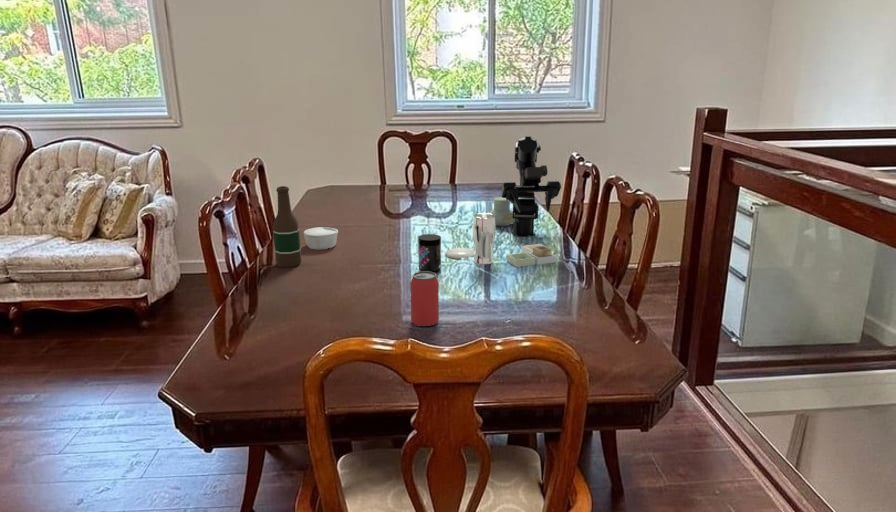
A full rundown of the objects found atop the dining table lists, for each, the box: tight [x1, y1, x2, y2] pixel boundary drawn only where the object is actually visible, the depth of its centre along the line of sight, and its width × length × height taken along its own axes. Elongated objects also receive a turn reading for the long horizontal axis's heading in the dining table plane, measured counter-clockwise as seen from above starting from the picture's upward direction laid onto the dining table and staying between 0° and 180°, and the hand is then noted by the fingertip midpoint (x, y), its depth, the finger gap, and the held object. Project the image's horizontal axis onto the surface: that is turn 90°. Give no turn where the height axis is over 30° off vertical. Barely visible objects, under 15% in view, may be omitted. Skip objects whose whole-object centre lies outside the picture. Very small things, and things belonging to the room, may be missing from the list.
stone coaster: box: [445, 247, 475, 260], centre depth 197 cm, size 10×10×1 cm
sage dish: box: [506, 252, 536, 268], centre depth 187 cm, size 6×6×2 cm
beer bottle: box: [272, 185, 302, 269], centre depth 184 cm, size 8×8×24 cm
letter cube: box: [533, 245, 552, 258], centre depth 189 cm, size 4×4×4 cm
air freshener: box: [488, 196, 515, 227], centre depth 232 cm, size 11×8×10 cm
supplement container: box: [417, 233, 442, 274], centre depth 180 cm, size 7×7×10 cm
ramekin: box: [303, 226, 339, 251], centre depth 206 cm, size 11×11×5 cm
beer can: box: [409, 271, 440, 327], centre depth 144 cm, size 7×7×12 cm
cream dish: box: [521, 243, 544, 254], centre depth 196 cm, size 6×6×2 cm
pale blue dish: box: [528, 252, 557, 266], centre depth 189 cm, size 6×6×2 cm
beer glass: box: [472, 212, 497, 265], centre depth 187 cm, size 7×7×15 cm
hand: (534, 211), depth 195 cm, fingers open, 9 cm apart
